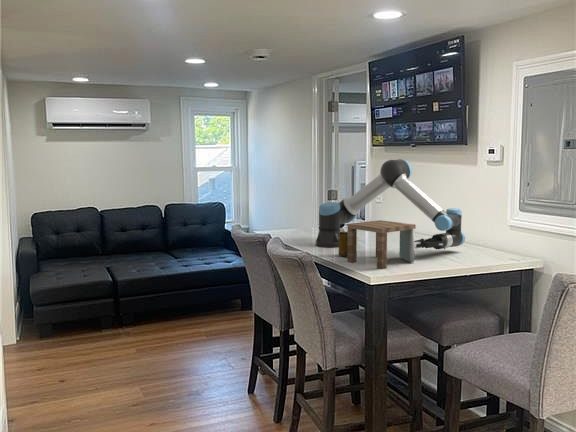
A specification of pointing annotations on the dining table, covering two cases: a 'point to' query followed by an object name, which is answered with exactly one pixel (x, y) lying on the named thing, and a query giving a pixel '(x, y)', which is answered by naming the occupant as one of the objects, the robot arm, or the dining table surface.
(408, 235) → the pale teal panel
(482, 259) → the dining table surface
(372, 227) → the step stool
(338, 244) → the robot arm
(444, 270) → the dining table surface
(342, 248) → the condiment
